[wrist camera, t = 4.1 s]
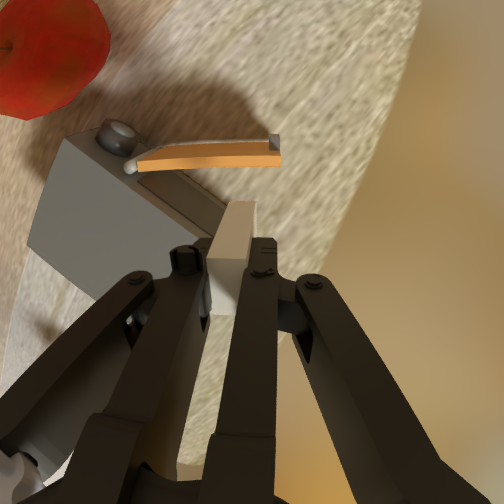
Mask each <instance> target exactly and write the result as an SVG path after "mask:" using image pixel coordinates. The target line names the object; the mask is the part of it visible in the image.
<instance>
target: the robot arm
mask: <svg viewBox="0 0 504 504" xmlns="http://www.w3.org/2000/svg"><path fill="white" fill-rule="evenodd" d="M169 254H170V261H171V266H172V272H171V274H170V275H169V277H166V278H161V279H155V280H153V276H152V274H151V273H150V272H148V271H142V270H137V271H133V272H131V273H128V274H127V275H125V276H124V277H123V278H122V279H121V280H119V281H118V282H117V283H116V284H115V285H114V286H113V287H112V288H111V289H109V290H108V291H107V292H106V293H105V294H104V295H103V296H102V297H101V298H100V299H98V300H97V301H96V302H95V303H94V304H93V305H92V306H91V307H90V308H89V309H88V310H87V311H86V312H84V313H83V314H82V315H81V316H80V317H79V318H78V319H77V320H76V321H75V322H74V323H73V324H72V325H71V326H70V327H69V328H68V329H67V330H66V331H65V332H64V333H63V334H62V335H61V336H59V337H58V338H57V339H56V340H55V341H54V342H53V343H52V344H51V345H50V346H49V347H48V348H47V349H46V350H45V351H44V352H43V353H42V354H41V355H40V357H39V358H38V359H37V360H36V361H35V362H34V363H33V364H32V365H31V366H30V367H29V368H28V369H27V370H26V371H25V372H24V373H23V374H22V375H21V376H20V377H19V378H18V379H17V381H16V382H15V383H14V384H13V385H12V386H11V387H10V388H9V389H8V390H7V391H6V393H5V394H4V395H3V396H2V397H1V398H0V504H289V503H287V502H286V501H284V500H283V499H281V498H279V497H277V496H275V495H274V478H275V454H276V453H275V452H276V437H275V433H276V397H277V341H278V330H280V331H284V332H287V333H291V334H292V339H293V341H294V344H295V347H296V349H297V352H298V354H299V357H300V359H301V362H302V365H303V367H304V370H305V372H306V375H307V377H308V380H309V382H310V385H311V388H312V390H313V393H314V395H315V397H316V400H317V403H318V405H319V408H320V410H321V413H322V416H323V418H324V421H325V423H326V426H327V429H328V431H329V434H330V436H331V439H332V441H333V444H334V447H335V449H336V451H337V454H338V457H339V459H340V462H341V464H342V467H343V470H344V472H345V475H346V478H347V480H348V483H349V485H350V488H351V491H352V493H353V496H354V498H355V500H356V502H357V504H491V503H490V501H489V500H488V499H487V498H486V497H485V496H484V495H482V494H481V493H480V492H479V491H478V490H476V489H475V488H474V487H473V486H472V485H470V484H469V483H468V482H467V481H466V480H464V479H463V478H462V477H461V476H460V475H459V474H457V473H456V472H455V471H454V470H453V469H451V468H450V467H449V466H448V465H447V464H446V463H445V462H443V461H442V460H441V459H440V457H439V456H438V454H437V452H436V450H435V448H434V446H433V445H432V443H431V441H430V439H429V438H428V436H427V434H426V432H425V431H424V429H423V427H422V425H421V424H420V422H419V420H418V418H417V417H416V415H415V414H414V412H413V410H412V408H411V406H410V405H409V403H408V401H407V400H406V398H405V396H404V395H403V393H402V392H401V390H400V388H399V386H398V385H397V383H396V381H395V380H394V378H393V377H392V375H391V373H390V372H389V370H388V369H387V367H386V365H385V364H384V362H383V361H382V359H381V357H380V356H379V354H378V353H377V351H376V350H375V348H374V346H373V345H372V343H371V342H370V340H369V338H368V337H367V335H366V334H365V332H364V331H363V329H362V328H361V326H360V325H359V323H358V322H357V320H356V319H355V317H354V315H353V314H352V313H351V311H350V310H349V308H348V306H347V305H346V303H345V302H344V300H343V299H342V297H341V296H340V295H339V293H338V291H337V290H336V288H335V287H334V286H333V284H332V283H331V281H330V280H329V279H328V278H326V277H324V276H322V275H319V274H305V275H302V276H300V277H299V278H298V279H297V280H296V282H295V281H291V280H287V279H285V278H283V277H282V276H280V275H279V273H278V270H277V242H276V241H275V240H274V238H262V237H256V201H229V203H228V206H227V208H226V210H225V213H224V215H223V218H222V220H221V223H220V225H219V227H218V230H217V232H216V235H215V237H214V238H200V239H198V240H197V241H195V242H194V244H193V245H181V246H178V247H175V248H173V249H172V250H171V251H170V252H169ZM211 306H212V314H216V315H236V316H235V321H234V327H233V333H232V338H231V344H230V350H229V356H228V361H227V367H226V373H225V379H224V384H223V390H222V396H221V402H220V408H219V413H218V419H217V425H216V430H215V432H214V433H213V434H211V437H210V439H209V443H208V447H207V453H206V458H205V465H204V469H203V475H202V480H193V481H177V469H176V462H177V457H178V453H179V448H180V444H181V440H182V435H183V431H184V427H185V423H186V418H187V414H188V410H189V406H190V402H191V398H192V394H193V390H194V385H195V381H196V377H197V373H198V369H199V365H200V361H201V357H202V353H203V349H204V345H205V342H206V338H207V334H208V330H209V326H210V308H211ZM130 316H131V318H132V322H131V323H130V324H127V321H126V320H127V319H128V318H129V317H130ZM107 404H108V405H107ZM106 406H107V407H106ZM105 407H106V409H105V410H104V408H105ZM103 410H104V411H103ZM102 411H103V412H102ZM101 412H102V413H101ZM73 450H74V452H73ZM72 452H73V454H72V457H71V459H70V461H69V464H68V466H67V469H66V471H65V474H64V477H62V478H60V479H59V480H57V481H55V482H54V483H52V484H50V485H49V486H47V487H46V486H45V485H44V484H43V482H44V481H46V480H47V479H48V478H50V477H51V476H52V475H53V474H54V473H55V472H56V471H57V470H58V469H59V468H60V467H61V466H62V465H63V463H64V462H65V461H66V460H67V459H68V457H69V456H70V454H71V453H72Z"/></svg>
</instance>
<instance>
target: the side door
mask: <svg viewBox="0 0 504 504" xmlns="http://www.w3.org/2000/svg"><path fill="white" fill-rule="evenodd" d="M220 167H281V154H280V137H279V134H269V142H236V143H208V144H190V145H176V146H166V147H164V148H163V147H162V146H157V147H155V148H153V149H151V150H149V151H147V152H145V153H143V154H141V155H139V156H137V157H135V158H133V159H131V160H129V161H127V162H126V163H125V164H124V171H125V172H126V173H127V174H132V173H134V172H135V171H137V170H138V172H144V171H158V170H173V169H193V168H220Z"/></svg>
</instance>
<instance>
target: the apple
mask: <svg viewBox="0 0 504 504" xmlns="http://www.w3.org/2000/svg"><path fill="white" fill-rule="evenodd" d="M110 38H111V34H110V32H109V29H108V27H107V24H106V22H105V20H104V18H103V15H102V13H101V11H100V9H99V7H98V5H97V4H96V3H95V2H93V1H92V0H10V1H9V2H8V3H7V4H6V5H5V6H4V7H3V9H2V10H1V11H0V114H1V115H7V116H11V117H15V118H19V119H22V120H26V121H27V120H30V119H33V118H36V117H39V116H42V115H45V114H48V113H50V112H52V111H54V110H56V109H58V108H61V107H63V106H65V105H67V104H69V103H70V102H71V101H72V100H73V99H74V98H75V97H76V95H77V94H78V93H79V92H80V91H81V90H82V89H83V88H84V87H86V86H87V85H88V84H89V83H90V82H91V81H92V80H93V79H94V78H95V77H96V76H97V74H98V73H99V71H100V70H101V69H102V67H103V66H104V64H105V61H106V59H107V56H108V53H109V50H110Z"/></svg>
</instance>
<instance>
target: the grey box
mask: <svg viewBox="0 0 504 504" xmlns="http://www.w3.org/2000/svg"><path fill="white" fill-rule="evenodd" d="M140 140H141V137H140V135H139V134H138V133H137V132H136V131H135V130H134V129H133V128H132V127H130V126H129V125H127V124H125V123H123V122H121V121H118V120H115V119H105V120H104V122H103V124H102V125H101V127H100V128H96V129H92V130H89V131H85V132H81V133H78V134H74V135H71V136H68V137H65V138H64V139H63V141H62V143H61V145H60V148H59V150H58V152H57V155H56V157H55V160H54V162H53V165H52V167H51V170H50V172H49V175H48V177H47V180H46V183H45V186H44V188H43V191H42V194H41V197H40V200H39V203H38V206H37V209H36V213H35V216H34V219H33V223H32V226H31V230H30V233H29V237H28V241H27V246H28V247H30V248H31V249H32V250H33V251H34V252H35V253H36V254H38V255H39V256H40V257H41V258H42V259H43V260H45V261H46V262H47V263H48V264H49V265H51V266H52V267H53V268H54V269H55V270H57V271H58V272H59V273H60V274H62V275H63V276H64V277H65V278H67V279H68V280H69V281H71V282H72V283H73V284H74V285H76V286H77V287H78V288H80V289H81V290H82V291H84V292H85V293H86V294H88V295H89V296H90V297H92V298H93V299H94V300H96V301H97V300H98V299H100V298H101V297H102V296H103V295H104V294H105V293H106V292H107V291H108V290H109V289H111V288H112V287H113V286H114V285H115V284H116V283H117V282H118V281H119V280H121V279H122V278H123V277H124V276H125V275H127V274H128V273H131V272H133V271H137V270H142V271H148V272H150V273H151V274H152V276H153V280H155V279H161V278H166V277H169V275H170V274H171V272H172V266H171V261H170V254H169V252H170V251H171V250H172V249H173V248H175V247H178V246H181V245H193V244H194V242H195V241H197V240H198V239H200V238H214V237H215V235H216V232H217V230H218V227H219V225H220V223H221V220H222V218H223V215H224V213H225V210H226V208H227V206H226V205H225V204H224V203H222V202H221V201H220V200H218V199H217V198H216V197H214V196H213V195H212V194H210V193H209V192H208V191H206V190H205V189H204V188H202V187H201V186H200V185H198V184H197V183H196V182H194V181H193V180H191V179H190V178H189V177H187V176H186V175H185V174H183V173H182V172H181V171H179V170H178V169H173V170H158V171H144V172H138V170H137V171H135V172H134V173H132V174H127V173H126V172H125V171H124V164H125V163H126V162H127V161H129V160H131V159H133V158H135V157H137V156H139V155H141V154H143V153H145V152H147V151H149V150H151V149H149V148H148V147H147V146H145V145H144V144H143V143H141V142H140ZM211 310H212V306H211V308H210V311H211ZM126 321H127V323H129V324H130V323H131V322H132V318H131V316H130V317H129V318H128V319H127V320H126Z"/></svg>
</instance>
